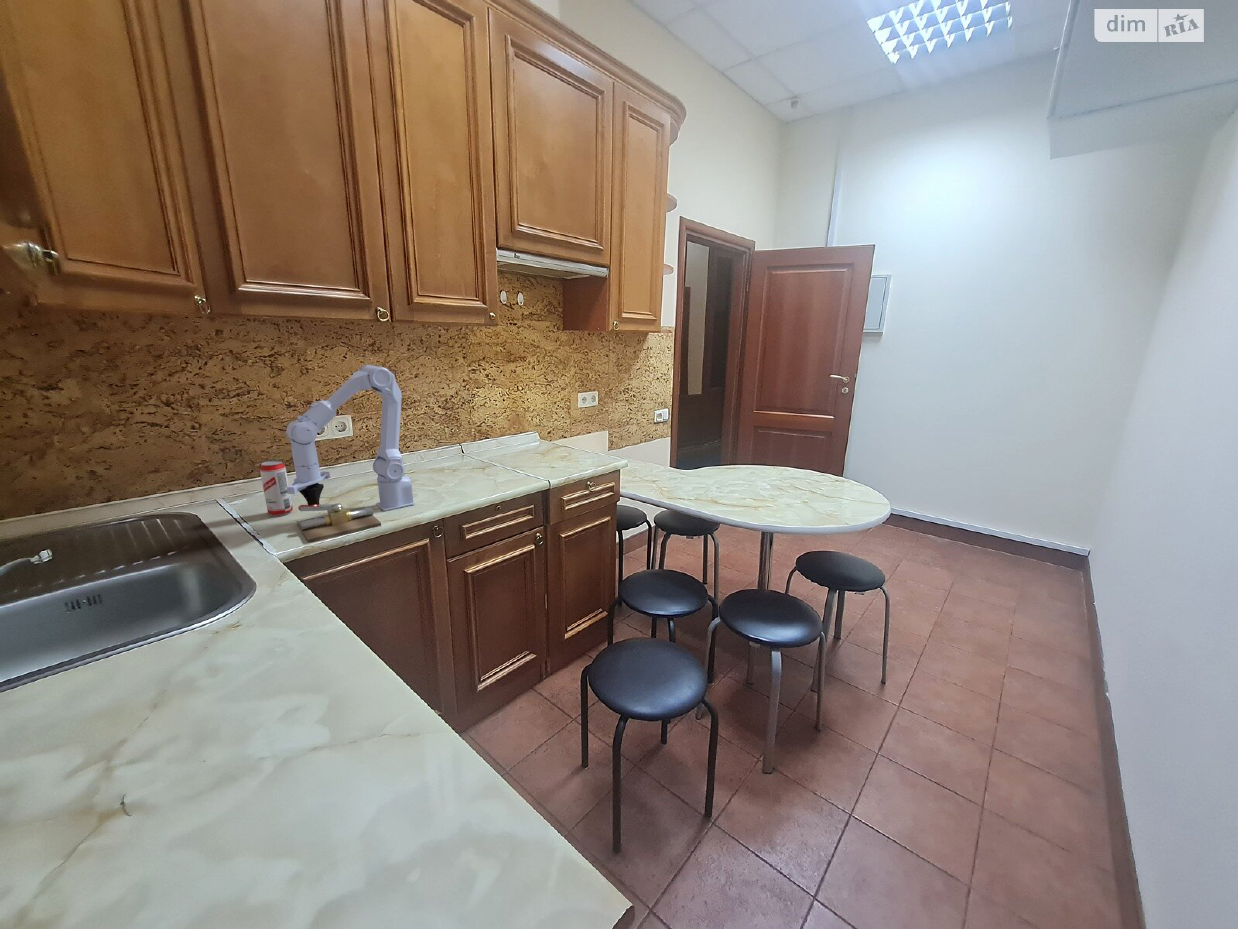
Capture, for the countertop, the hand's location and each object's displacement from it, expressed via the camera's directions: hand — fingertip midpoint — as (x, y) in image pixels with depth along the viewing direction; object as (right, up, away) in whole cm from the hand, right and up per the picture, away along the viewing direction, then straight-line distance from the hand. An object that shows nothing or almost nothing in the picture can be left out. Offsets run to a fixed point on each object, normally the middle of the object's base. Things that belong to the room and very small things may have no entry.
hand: (314, 509), depth 136 cm
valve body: (+7, -5, +1) cm, 8 cm away
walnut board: (+7, -5, +1) cm, 8 cm away
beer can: (-15, -2, +8) cm, 18 cm away
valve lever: (+3, 0, -1) cm, 3 cm away
